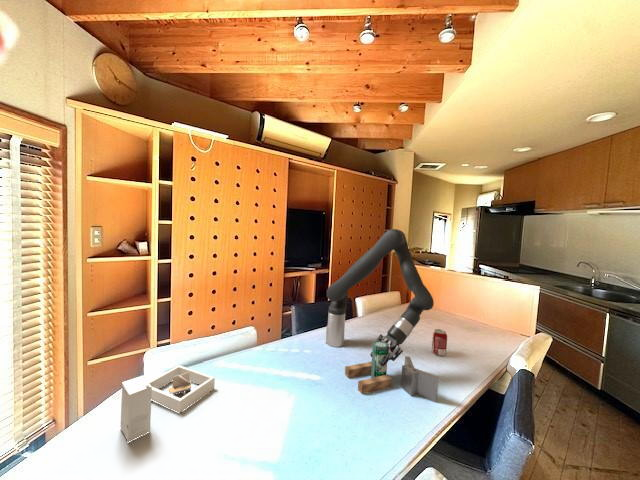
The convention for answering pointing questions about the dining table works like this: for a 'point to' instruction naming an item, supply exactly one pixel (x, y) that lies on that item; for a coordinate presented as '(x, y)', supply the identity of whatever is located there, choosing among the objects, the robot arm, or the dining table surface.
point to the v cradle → (418, 381)
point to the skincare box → (136, 407)
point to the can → (378, 358)
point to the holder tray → (182, 403)
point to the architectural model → (180, 384)
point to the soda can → (439, 342)
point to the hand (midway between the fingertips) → (376, 360)
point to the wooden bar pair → (370, 383)
